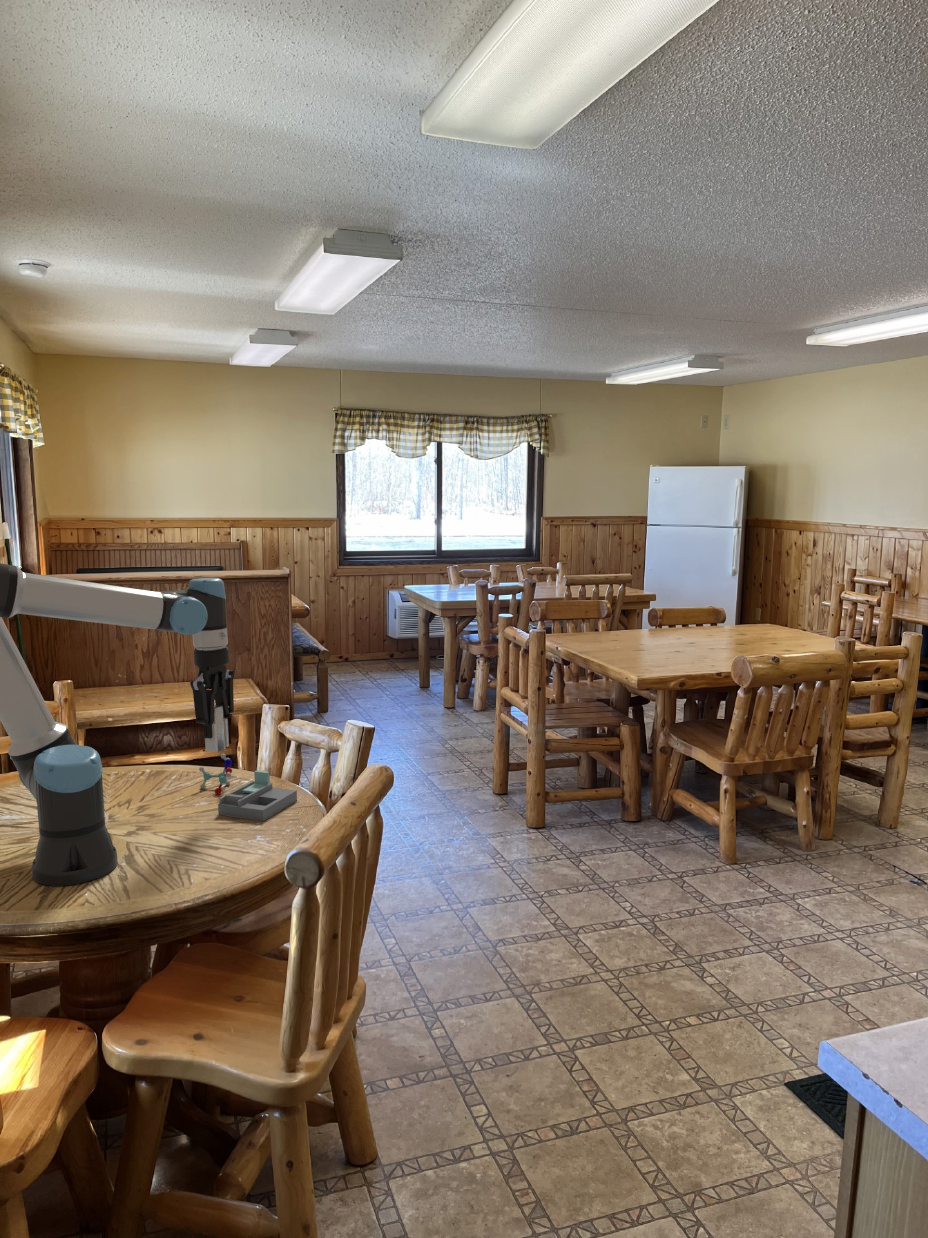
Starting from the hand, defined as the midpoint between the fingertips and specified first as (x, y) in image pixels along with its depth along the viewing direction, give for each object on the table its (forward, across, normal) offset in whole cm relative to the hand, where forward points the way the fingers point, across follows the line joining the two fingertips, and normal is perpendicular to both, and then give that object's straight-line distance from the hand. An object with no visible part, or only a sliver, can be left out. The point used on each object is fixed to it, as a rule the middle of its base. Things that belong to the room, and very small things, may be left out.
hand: (217, 748), depth 196 cm
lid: (+12, +9, -4) cm, 16 cm away
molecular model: (+15, +14, +10) cm, 23 cm away
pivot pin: (0, 0, 0) cm, 0 cm away
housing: (+15, +5, -7) cm, 17 cm away
